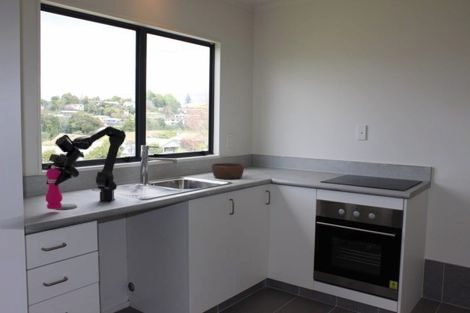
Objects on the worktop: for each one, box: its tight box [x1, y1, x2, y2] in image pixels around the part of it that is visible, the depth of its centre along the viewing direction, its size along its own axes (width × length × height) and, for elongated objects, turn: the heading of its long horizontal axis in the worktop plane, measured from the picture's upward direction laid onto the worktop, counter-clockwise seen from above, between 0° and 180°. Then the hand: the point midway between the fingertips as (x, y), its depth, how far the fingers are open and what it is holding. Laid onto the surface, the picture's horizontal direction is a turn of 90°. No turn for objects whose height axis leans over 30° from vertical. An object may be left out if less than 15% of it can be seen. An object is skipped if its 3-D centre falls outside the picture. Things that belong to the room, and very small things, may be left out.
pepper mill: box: [45, 164, 63, 210], centre depth 190 cm, size 7×7×20 cm
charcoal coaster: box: [57, 203, 78, 211], centre depth 202 cm, size 10×10×1 cm
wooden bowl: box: [211, 162, 245, 180], centre depth 315 cm, size 25×25×10 cm
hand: (51, 184), depth 189 cm, fingers closed on pepper mill, 5 cm apart
